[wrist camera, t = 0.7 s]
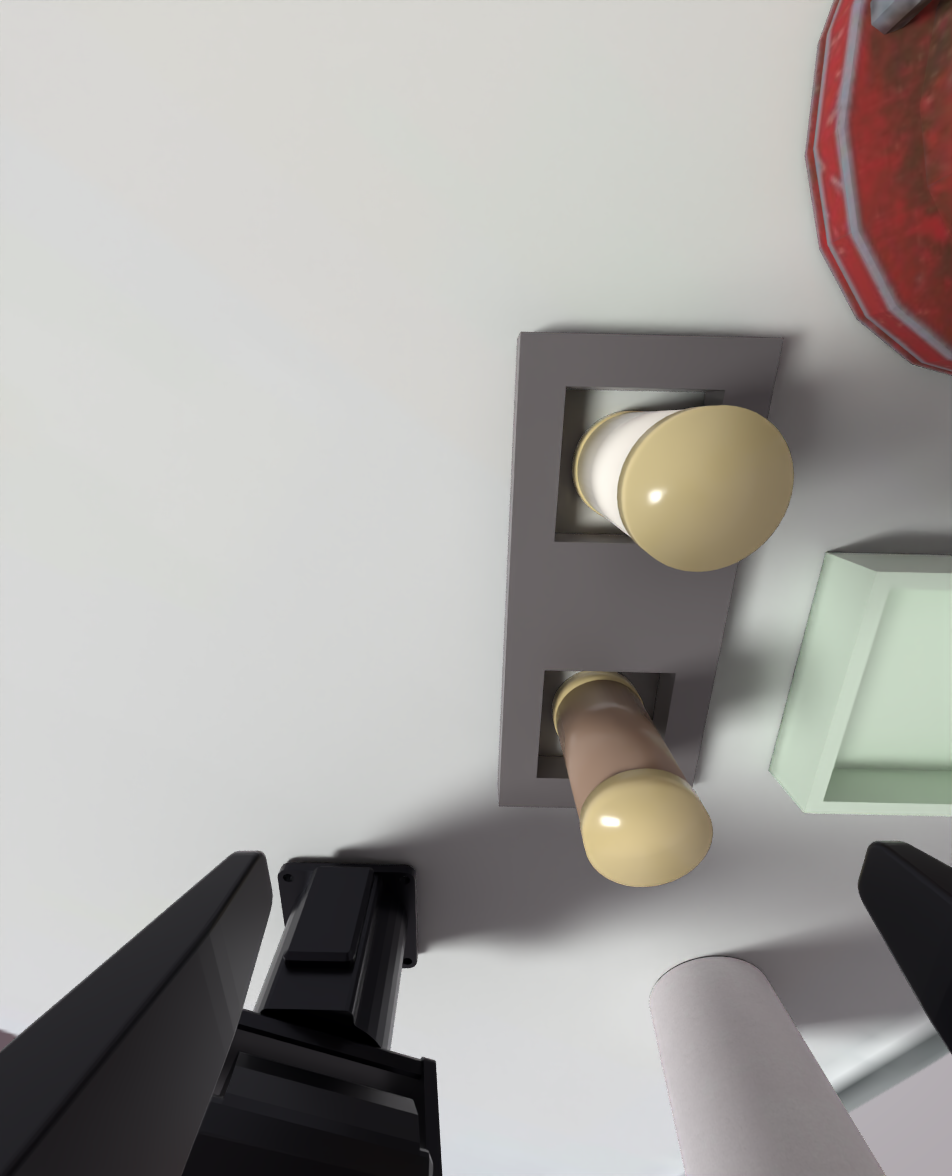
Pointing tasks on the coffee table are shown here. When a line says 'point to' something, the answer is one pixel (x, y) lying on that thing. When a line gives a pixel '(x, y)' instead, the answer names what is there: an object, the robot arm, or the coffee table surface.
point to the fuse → (687, 481)
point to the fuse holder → (608, 553)
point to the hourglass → (887, 169)
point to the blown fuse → (627, 784)
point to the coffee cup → (747, 1079)
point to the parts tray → (872, 690)
